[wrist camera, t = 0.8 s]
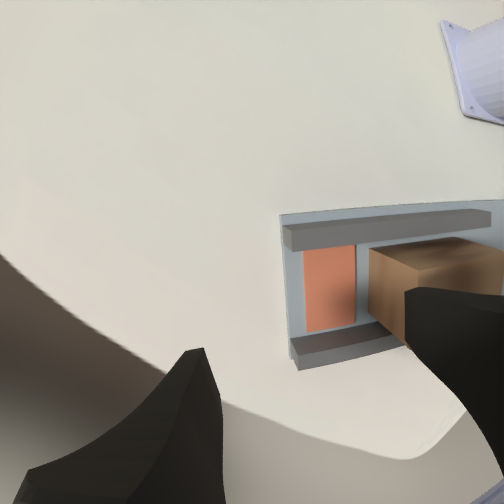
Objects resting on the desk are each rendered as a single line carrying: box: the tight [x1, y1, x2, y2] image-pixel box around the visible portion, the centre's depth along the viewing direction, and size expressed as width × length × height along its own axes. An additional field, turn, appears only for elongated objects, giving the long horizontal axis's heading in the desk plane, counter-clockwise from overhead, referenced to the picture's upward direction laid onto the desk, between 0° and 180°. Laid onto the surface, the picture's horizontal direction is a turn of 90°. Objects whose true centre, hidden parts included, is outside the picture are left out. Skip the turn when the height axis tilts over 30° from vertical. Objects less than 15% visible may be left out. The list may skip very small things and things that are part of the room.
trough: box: [279, 200, 504, 371], centre depth 17 cm, size 26×9×2 cm, turn 96°
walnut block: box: [368, 236, 504, 350], centre depth 15 cm, size 7×4×5 cm, turn 96°
